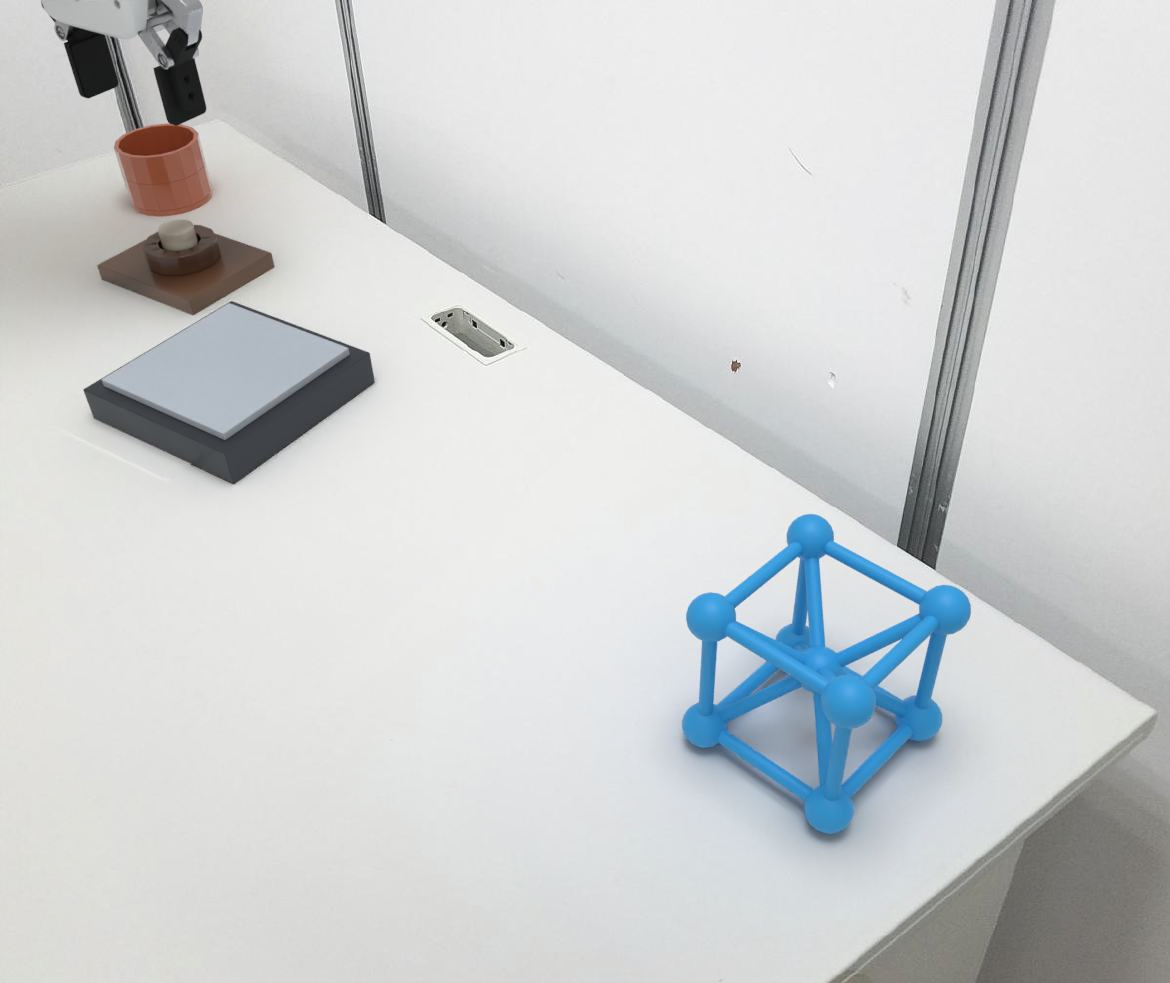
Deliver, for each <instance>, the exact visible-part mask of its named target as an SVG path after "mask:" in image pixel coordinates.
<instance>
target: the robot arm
mask: <svg viewBox="0 0 1170 983" xmlns="http://www.w3.org/2000/svg"><path fill="white" fill-rule="evenodd" d="M40 4H41V7H42V9H43V10H44V11H45V12H46V14H47V15H48V16H49V18H51V20H52V21H53V23H54V25H53V26H54V27H53V28H54V32H55V35H56V36H57V38H58V39H59V40H60V41H63V46H64V49H65V52H66V56H67V58H68V62H69V65H70V68H71V72H72V74H73V77H74V81H75V84H76V86H77V90H78V94H79V95H80V97H82V98H84V99H92V98H94V97H96V96H99V95H101V94H104V93H105V92H108V91H111V90H113V89H115V88H117V87H118V86H119V78H118V74H117V72H116V71H117V70H116V68H115V64H114V62H113V57H112V54H111V51H110V48H109V45H108V41H107V37H106V36H108V37H111V38H116V39H120V40H130V39H134V38H135V37H137V36H138V37H139V38H140V40H141V41H142V43H143V44H144V46H145V47H146V48H147V50H148V52H150V54H151V55H152V57H153V58H154V60H155V61H156V62H157V64H158V66H155V67H153V68H152V69H153V72H154V77H155V80H156V85H157V88H158V91H159V95H160V99H161V103H162V107H163V111H164V114H165V118H166V121H167V122H168V123H167V124H172V125H176V126H177V125H180V124H182V125H183V124H184V123H186V122H188V121H191V120H192V119H195V118H197V117H199V116H202V115H204V114H205V113H206V112H207V104H206V100H205V99H206V98H205V96H204V92H203V88H202V83H201V81H200V80H201V79H200V75H199V71H198V67H197V63H196V58H198V57H199V55H200V52H199V46H200V44H201V42H202V40H203V33H202V30H201V29H202V22H203V12H204V7H203V4H202V2H201V1H200V0H40ZM163 30H166V31H167V33H168V35H169V37H168V39H167V41H166V43H164V41H163V40H162V38H161V37H160V36H159V34H158V32H161V31H163Z"/></svg>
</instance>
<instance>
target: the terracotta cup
mask: <svg viewBox="0 0 1170 983" xmlns="http://www.w3.org/2000/svg"><path fill="white" fill-rule="evenodd" d="M113 150H114V153H115V156H116V157H115V158H116V160H117V163H118V166H119V169H120V173H121V176H122V179H123V184H124V186H125V189H126V192H127V196H128V199H129V201H130V203H131V206H132V208H133V210H134V211H136V212H138V213H139V214H141V215H145V216H149V217H150V216H151V217H170V216H171V217H172V216H177V215H183V214H186V213H190V212H192V211H194V210H196V209H199V208H201V207H203V206H204V205H206V204H207V203H208V202H209V201H210V200H211V199H212V198H213V188H212V182H211V178H210V174H209V169H208V166H207V163H206V159H205V158H206V157H205V154H204V151H203V150H204V149H203V146H202V143H201V139H200V134H199V132H198V131H197V129H195V128H194V127H192V126H189V125H185V124H183V123H182V124H180V125H177V126H176V125H172V124H170V123H159V124H151V125H146V126H142V127H138V128H135V129H132V130H130V131H128V132H126V133H124V134H122V135H121V136H119V138H118V139H116V140H115V141H114V145H113Z"/></svg>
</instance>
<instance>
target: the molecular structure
mask: <svg viewBox="0 0 1170 983" xmlns="http://www.w3.org/2000/svg"><path fill="white" fill-rule="evenodd" d="M786 544H787V546H785V547H784V548H783V549H782V550H781V551H779V552H778V553H777V554H776V555H774V556H773V557H772V558H771V559H769V560H768V561H767V562H766V563H764V564H763V565H762V566H761V567H759V568H758V569H757V570H756V571H754V572H753V573H752V574H750V575H749V576H748V577H747V578H746V579H745V580H743V581H742V582H741V583H739V584H738V585H737V586H736V587H735V588H733V589H732V590H731V591H729V592H728V593H727V594H726V595H723V594H721V593H718V592H711V591H710V592H705V593H701V594H700V595H697V596H696V597H695V598H694V599H692V600H691V602H690V603H689V605H688V607H687V610H686V613H685V620H686V626H687V628H688V630H689V631H690V633H691V634H692V635H693V636H694V637H695V638H696V639H698V640H700V641H701V654H700V671H699V674H700V675H699V690H698V691H699V692H698V702H696V703H694V704H693V705H691V706H689V707H688V708H687V709H686V711H685V712H684V714H683V717H682V720H681V730H682V734H683V735H684V737H685V738H686V740H687V741H688V742H689V743H690V744H691V745H694V746H695V747H698V748H703V749H707V748H712V747H715V746H716V745H718V744H720V745H721V746H723V747H724V748H725V749H727V750H728V751H730V752H731V753H733V754H734V755H736V757H739V758H740V759H742V760H743V761H745V762H746V763H748V764H749V765H751V766H752V767H753V768H755V769H756V770H758V771H759V772H761V773H762V774H764V775H765V776H767V777H768V778H769V779H770V780H773V781H774V782H776V783H777V784H778V785H780V786H781V787H783V788H784V789H785V790H787V791H789V793H792V794H793V795H794V796H796V797H797V798H799V799H801V800H802V801H803V802H804V803H803V804H804V805H803V806H804V815H805V818H806V820H807V822H808V824H809V825H810V826H811V827H812V828H813V829H815V830H816V831H818V832H821V833H822V834H828V835H829V834H837V833H840V832H842V831H844V830H845V829H846V828H847V827H849V826H850V824H851V822H852V820H853V818H854V816H855V815H854V814H855V804H854V801H853V799H852V798H853V796H854V795H856V793H857V792H859V790H860V789H861V788H862V787H863V786H864V785H865V784H866V783H867V782H868V781H869V780H870V779H871V778H872V777H873V776H874V775H875V774H876V773H877V772H878V771H879V770H880V769H881V768H882V767H883V766H884V765H885V764H886V762H888V761H889V760H890V758H892V757H893V755H895V753H897V751H898V750H899V749H901V747H903V746H904V744H905V743H906V742H907V741H908V740H910V741H916V742H923V741H928V740H930V739H932V738H934V737H935V736H936V735H937V734H938V733H939V731H940V729H941V727H942V725H943V713H942V710H941V708H940V706H939V705H938V704H937V702H936V701H935V700H934V699H932V697H933V693H934V688H935V685H936V681H937V677H938V673H939V669H940V665H941V661H942V657H943V653H944V648H945V645H946V641H947V636H949V635H953V634H956V633H958V632H959V631H961V630H962V629H964V628H965V627H966V626H967V624H968V622H969V621H970V618H971V614H972V605H971V602H970V599H969V597H968V596H967V594H965V592H964V591H962V590H961V589H960V588H958V587H957V586H954V585H951V584H950V585H949V584H940V585H936V586H934V587H932V588H930V589H928V590H925V589H923V588H921V587H920V586H918V585H916V584H914V583H912V582H910V581H908V580H906V579H905V578H903V577H901V576H899V575H897V574H896V573H893V572H892V571H890V570H888V569H886V568H885V567H883V566H880V565H879V564H877V563H874V561H871V560H869V559H868V558H865V557H864V556H861V554H858V553H856V552H854V551H853V550H850V549H849V548H847V547H845V546H843V545H841V544H839V543H838V542H836V541H835V533H834V530H833V527H832V525H831V524H830V523H829V521H828V520H827V519H826V518H824V517H823V516H821V515H820V514H819V515H818V514H814V513H806V514H805V513H804V514H803V515H800V516H798V517H797V518H795V519H794V520H793V521H792V522H791V523H790V525H789V526H788V527H787V531H786ZM826 555H827V556H829V557H831V558H832V559H833V560H835V561H837V562H840V563H841V564H843V565H845V566H847V567H849V568H850V569H852V570H853V571H856V572H858V573H859V574H861V575H864V576H865V577H867V578H869V579H871V580H872V581H874V582H876V583H878V584H880V585H882V586H884V587H885V588H887V589H889V590H891V591H893V592H894V593H897V594H898V595H900V596H902V597H904V598H905V599H907V600H909V601H911V602H913V603H915V604H917V605H918V613H917V614H915V615H913V616H911V617H909V618H907V619H904V620H902V621H900V622H898V623H897V624H895V625H892V626H890V627H887V628H886V629H884V630H881V631H880V632H878V633H876V634H873V635H872V636H869V637H867V638H865V639H863V640H861V641H858V642H857V643H854V644H853V645H850V646H848V647H846V648H844V649H842V650H840V651H838V652H836V651H834V649H832V648H830V647H828V646H826V636H825V622H824V609H823V607H824V606H823V593H822V580H821V578H822V577H821V565H820V559H822V558H824V557H825V556H826ZM797 558H798V559H799V562H798V563H799V564H798V572H797V579H796V588H795V596H794V604H793V612H792V620H791V623H789V624H787V625H785V626H783V627H782V628H781V629H780V630H779V631H778V632H777V634H776V635H775V638H772V637H771V636H768V635H766V634H764V633H761V632H760V631H758V630H756V629H754V628H751V627H750V626H747V625H745V624H744V623H741V622H739V621H737V612H736V608H737V607H739V605H741V604H742V603H744V602H745V601H746V600H748V598H749V597H750V596H752V595H753V594H754V593H756V591H758V590H759V589H760V588H762V587H763V586H764V585H765V584H767V583H768V582H769V581H770V580H771V579H772V578H774V577H775V576H776V575H778V574H780V572H781V571H782V570H784V569H785V568H786V567H788V566H789V565H790V564H791V563H792V562H793V561H795V560H796V559H797ZM807 620H808V625H807ZM726 638H729V639H730V640H732V641H734V642H735V643H737V644H738V645H740V646H742V647H743V648H745V649H746V650H748V651H749V652H751V653H753V654H754V655H756V656H758V657H759V658H761V659H763V660H765V662H764V663H763V664H762V665H761V666H759V667H758V668H757V669H756V670H755V671H753V672H752V673H751V674H750V675H749V676H748V677H747V678H746V679H745V680H743V681H742V682H741V683H740V684H739V685H738V686H736V687H735V688H734V689H733V690H732V691H731V692H729V694H727V695H726V696H725V697H724V698H722V700H720V701H719V702H718V703H717V704H716V703H714V701H715V685H716V669H717V655H718V654H717V653H718V642H720V641H723V640H724V639H726ZM928 638H929V639H928ZM927 639H928V644H927V648H926V653H925V656H924V661H923V666H922V669H921V673H920V678H919V682H918V685H917V686H918V687H917V691H916V694H915V695H910V696H908V697H906V698H903V699H901V698H900V697H898V696H897V695H895V694H893V693H892V692H890V691H888V690H886V689H885V688H883V687H882V686H879V685H880V684H881V683H882V682H883V681H884V680H886V678H887V677H888V676H889V675H890V674H891V673H893V672H894V671H895V669H897V668H898V667H899V666H900V664H902V663H903V662H904V661H905V660H906V659H907V658H908V657H909V656H910V655H912V653H913V652H914V651H916V649H917V648H918V647H920V646H921V644H923V643H924V642H925V641H926V640H927ZM894 643H896V644H895V645H893V644H894ZM890 645H893V647H892V648H891V649H890V650H889V651H888V652H887V653H886V654H884V656H883V657H881V659H879V660H878V661H877V662H876V663H875V664H874V665H873V666H872V667H871V668H870V669H869V670H867V672H865V673H864V674H863V675H861V674H859V673H858V672H856V671H854V670H853V669H851V668H849V667H848V665H851V664H852V663H854V662H857V661H859V660H862V659H863V658H865V657H867V656H870V655H872V654H873V653H875V652H878V651H880V650H882V649H885V648H887V647H888V646H890ZM778 670H781V671H782V672H783V673H785V674H787V675H788V676H785V677H784V678H782V679H780V680H778V681H776V682H774V683H772V684H770V685H768V686H766V687H763V688H761V689H759V690H757V689H758V688H760V686H761V685H763V684H764V683H765V682H766V681H767V680H768V679H770V678H771V677H772V676H773V675H774V674H775V673H776V672H778ZM800 688H803V689H805V690H806V691H807V692H810V693H811V694H812V695H813V707H814V708H813V709H814V721H815V722H814V723H815V738H816V752H817V765H818V766H817V769H818V779H819V785H818V786H816V787H814V788H813V787H811V786H809V785H808V784H807V783H805V782H804V781H803V780H801V779H799V778H797V776H795V775H793V774H792V773H790V772H789V771H787V770H786V769H784V768H783V767H781V766H780V765H778V764H777V763H776V762H774V761H772V760H771V759H770V758H768V757H766V756H765V755H763V754H762V753H760V752H759V751H758V750H756V749H754V748H753V747H752V746H750V745H748V743H746V742H744V741H742V740H741V739H739V737H736V736H735V735H734V734H732V733H731V732H729V730H728V729H729V726H728V725H729V722H730V721H733V720H734V719H737V718H738V717H741V716H743V715H745V714H748V713H750V712H753V711H754V710H756V709H758V708H760V707H762V706H764V705H766V704H768V703H771V702H773V701H775V700H777V699H779V698H781V697H783V696H785V695H787V694H789V693H791V692H793V691H795V690H797V689H800ZM756 690H757V691H756ZM877 707H878V708H880V709H882V710H885V711H886V712H888V713H891V714H893V715H894V722H895V726H896V728H897V729H895V730H894V731H893V733H892V734H890V736H888V737H887V739H885V741H884V742H882V744H880V745H879V747H878V748H876V749H875V751H873V753H871V755H870V756H869V757H868V758H867V759H866V760H865V761H864V762H862V764H861V765H860V766H859V767H858V768H857V769H856V770H855V771H854V772H852V774H851V775H850V776H848V777H847V779H846V780H845V781H844V782H843V780H844V779H843V778H844V774H845V768H846V765H847V764H846V763H847V758H848V752H849V747H850V743H851V736H852V732H853V729H857V728H859V727H862V726H863V725H866V724H867V722H869V721H870V720H871V719H872V717H873V715H874V713H875V711H876V708H877ZM832 725H834V731H833V733H832Z"/></svg>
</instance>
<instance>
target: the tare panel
mask: <svg viewBox="0 0 1170 983" xmlns="http://www.w3.org/2000/svg"><path fill="white" fill-rule="evenodd" d="M193 225H194V229H195V233H196V236H197V240H198V243H197V245H195V246H193V247H191V248H189V249H185V250H180V251H166V250H164V249H163V247H162V243H161V240H160V236H159V233H158V231H156V232H154V233H152V234H150V235H148V237H147V238H146V239H144V240H142V241H140V242H139V243H137V244H134V245H133V246H131V247H129V248H127V249H125V250H123V251H121V252H120V253H117V254H115V255H113V256H112V257H110V258H108V259H106V260H104V261H102V262H100V263H99V264H97V265H96V266H97V269H98V272H99V275H100V279H101V280H102V281H103V282H106V283H110V284H112V285H115V286H117V287H120V288H122V289H124V290H127V291H130V292H132V293H135V294H138V295H140V296H143V297H145V298H147V299H150V300H153V301H155V302H157V303H160V304H163V305H166V306H169V307H171V308H173V309H176V310H177V311H181V312H184V313H186V314H189V315H191V316H195V315H197V314H199V313H200V312H202V311H204V310H205V309H207V308H209V307H210V306H212V305H214V304H215V303H217V302H218V301H220V300H222V299H224V298H225V297H228V296H229V295H231V294H232V293H234V292H235V291H237V290H239V289H241V288H242V287H245V286H246V285H247V284H249V283H250V282H253V281H254V280H256V279H258V278H260V277H261V276H263V275H264V274H266V273H268V272H270V271H271V270H273V269H275V263H274V258H273V254H272V252H270V251H268V250H264V249H261V248H259V247H255V246H254V245H250V244H247V243H244V242H241V241H239V240H236V239H232V238H230V237H227V236H223V235H220V234H219V233H215V231H214V230H213V229H212V228H209V227H207V226H204V225H201V224H193Z"/></svg>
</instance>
